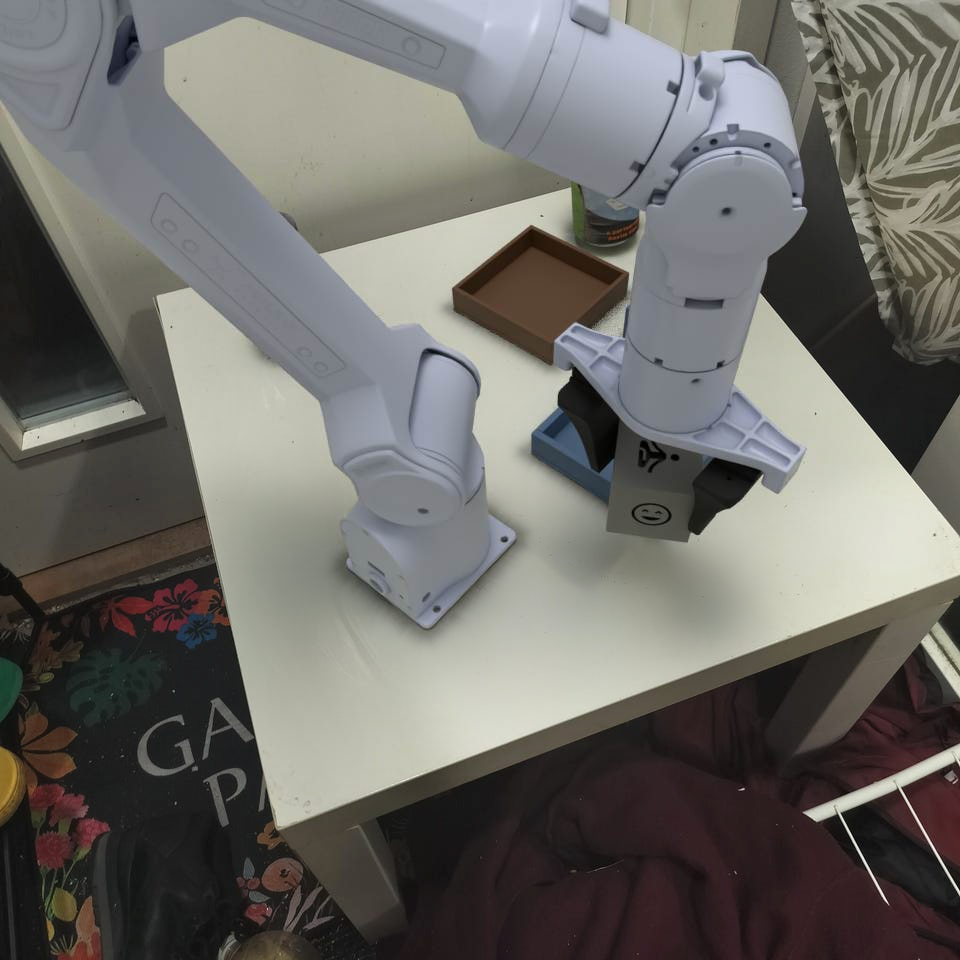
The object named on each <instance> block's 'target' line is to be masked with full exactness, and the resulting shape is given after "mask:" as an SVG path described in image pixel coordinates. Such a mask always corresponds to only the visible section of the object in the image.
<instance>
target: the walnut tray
mask: <svg viewBox="0 0 960 960" xmlns="http://www.w3.org/2000/svg"><path fill="white" fill-rule="evenodd" d="M629 279H630V272H629V271H627V270H625V269H623V268H621V267H619V266H617V265H614V264H613V263H611V262H609V261H606V260H604V259H602V258H600V257H598V256H596V255H594V254H592V253H590V252H589V251H586V250H584V249H582V248H580V247H578V246H576V245H574V244H572V243H570V242H568V241H565V240H563V239H561V238H559V237H557V236H556V235H553V234H551V233H549V232H547V231H545V230H544V229H541V228H539V227H538V226H535V225H533V224H530V225H529V226H527V227H526V228H525V229H524V230H522V231H521V232H520V233H519V234H517V235H516V236H515V237H514V238H512V239H511V240H510V241H509V242H507V243H506V244H504V246H502V247H501V248H500V249H499V250H497V251H496V252H495V253H493V254H492V255H491V256H490V257H488V259H486V260H485V261H483V262H482V263H481V264H480V265H479V266H477V267H476V268H475V269H473V271H471V272H469V273H468V274H467V275H466V276H465V277H463V279H461V280H459V282H457V283H456V284H455V285H454V286H453V287H451V295H452V296H451V297H452V306H453V310H454V311H455V312H457V313H458V314H461V315H462V316H464V317H466V318H467V319H469V320H471V321H473V322H474V323H476V324H478V325H480V326H481V327H483V328H485V329H487V330H488V331H490V332H492V333H493V334H495V335H497V336H499V337H501V338H502V339H504V340H506V341H508V342H510V343H511V344H513V345H514V346H516V347H518V348H520V349H521V350H523V351H525V352H527V353H528V354H530V355H532V356H534V357H536V358H537V359H539V360H541V361H543V362H544V363H546V364H548V365H549V366H552V365H554V364H553V361H554V341H555V340H556V339H557V338H558V337H559V336H560V335H561V334H562V333H563V332H565V331H566V330H567V329H568V328H569V327H570V326H571V325H572V324H574V323H575V322H576V323H578V324H580V325H582V326H584V327H587V328H589V329H592V328H593V327H594V326H595V325H596V324H597V323H598V322H600V320H601V319H603V318H604V317H605V316H606V315H607V314H608V313H610V311H611V310H612V309H613V308H615V307H616V306H617V305H618V304H619V303H620V302H621V301H622V300H623V299H624V298H625V297H626V296H627V295H628V288H629V281H630V280H629Z"/></svg>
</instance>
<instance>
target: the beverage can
mask: <svg viewBox="0 0 960 960" xmlns="http://www.w3.org/2000/svg"><path fill="white" fill-rule="evenodd" d="M570 191H571V192H570V193H571V209H572V210H571V212H572V227H573V228H572V229H573V233H574V235H575V237H577V238H578V239H579V240H581V241H582V242H585V243H586V244H588V245H590V246H592V247H593V246H594V247H598V248H599V247H600V248H606V247H607V248H608V247H614V246H618V245H621V244H622V243H625V242H626V241H628V240H629V239H631V238H632V237H633V236H634V235H635V234H636V233H637V232H638V230H639V228H640V210H639V209H636V208H633V207H630V206H627V205H624V204H622V203H620V202H618V201H616V200H613V199H611V198H609V197H606V196H604V195H602V194H600V193H597V192H595V191H593V190H590V189H588V188H586V187H584V186H581V185H579V184H577V183H575V182H572V181H570Z"/></svg>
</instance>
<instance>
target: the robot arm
mask: <svg viewBox="0 0 960 960" xmlns="http://www.w3.org/2000/svg"><path fill="white" fill-rule="evenodd" d="M238 18H249V19H252V20H256V21H258V22H261V23H264V24H266V25H269V26H271V27H274V28H277V29H280V30H283V31H285V32H287V33H291V34H293V35H296V36H299V37H301V38H304V39H306V40H309V41H311V42H315V43H317V44H319V45H322V46H324V47H325V46H326V47H328V48H330V49H332V50H336V51H339V52H341V53H344V54H347V55H349V56H352V57H355V58H358V59H359V60H362V61H365V62H368V63H371V64H373V65H376V66H379V67H381V68H384V69H387V70H390V71H392V72H395V73H398V74H400V75H402V76H405V77H408V78H411V79H413V80H416V81H419V82H421V83H424V84H427V85H430V86H432V87H434V88H437V89H440V90H443V91H445V92H449V93H451V94H453V95H455V96H456V97H457V99H458V100H459V101H460V103H461V105H462V107H463V109H464V111H465V113H466V115H467V117H468V120H469V122H470V125H471V126H472V128H473V130H474V132H475V134H476V137H477V138H478V139H479V141H480V142H482V143H483V144H485V145H489V146H490V147H493V148H496V149H497V150H499V151H502V152H504V153H506V154H509V155H511V156H513V157H516V158H518V159H520V160H523V161H525V162H527V163H530V164H532V165H533V166H536V167H538V168H541V169H543V170H545V171H548V172H549V173H552V174H555V175H557V176H559V177H561V178H563V179H566V180H568V181H570V182H571V181H572V182H575V183H577V184H579V185H581V186H584V187H586V188H588V189H590V190H593V191H595V192H597V193H600V194H602V195H604V196H606V197H609V198H611V199H613V200H616V201H618V202H620V203H622V204H624V205H627V206H630V207H633V208H636V209H639V211H642V212H644V213H645V223H644V228H643V229H644V230H643V234H642V236H641V237H640V239H639V243H638V246H637V249H636V253H635V262H634V269H633V276H632V284H631V290H630V292H631V293H630V299H629V304H630V306H629V314H628V321H627V328H626V336H625V338H622V337H623V336H622V337H621V336H617V335H612V334H608V333H604V332H601V331H597V330H594V329H592V328H590V329H589V328H587V327H584V326H582V325H580V324H578V323H576V322H575V323H574V324H572V325H571V326H570V327H569V328H568V329H567V330H566V331H565V332H563V333H562V334H561V335H560V336H559V337H558V338H557V339H556V340H555V341H554V361H553V364H552V365H554V366H556V367H557V368H559V369H561V370H562V371H564V372H569V371H571V375H570V376H569V378H568V381H567V382H566V383H565V384H564V385H563V386H562V387H561V388H560V389H559V391H558V393H557V399H556V401H557V402H556V404H557V408H558V407H559V408H560V409H561V410H562V411H563V412H564V413H565V414H566V415H567V416H568V418H569V419H570V420H571V422H572V423H573V425H574V426H575V428H576V430H577V432H578V434H579V436H580V438H581V440H582V443H583V446H584V448H585V451H586V454H587V458H588V461H589V464H590V467H591V469H592V470H594V471H595V472H597V473H598V474H599V473H600V472H601V471H602V470H603V469H604V468H605V467H606V466H607V465H608V464H609V463H610V462H611V461H612V460H613V459H614V457H615V450H616V443H617V435H618V428H619V421H620V418H621V420H622V421H623V422H624V423H625V424H626V425H627V426H628V427H629V428H630V429H631V430H633V431H634V432H635V433H637V434H639V435H640V436H642V437H644V438H647V439H649V440H652V441H655V442H658V443H662V444H666V445H670V446H673V447H677V448H681V449H685V450H689V451H693V452H696V453H700V454H704V455H708V456H712V457H715V458H714V459H712V460H711V461H710V463H709V464H708V465H707V466H706V467H705V468H704V469H703V470H702V472H701V473H700V474H699V475H698V476H697V477H696V478H695V479H694V481H693V484H692V486H693V489H694V493H695V503H694V509H693V512H692V515H691V517H690V520H689V523H688V530H689V531H690V532H691V534H693V535H695V536H700V535H701V534H702V533H703V532H704V530H705V529H706V528H707V526H708V525H710V523H711V522H713V520H714V519H715V517H716V515H717V514H718V513H719V514H720V513H721V512H722V511H726V510H730V509H732V508H733V507H735V506H736V505H737V504H738V503H740V502H741V501H742V500H743V499H744V498H745V497H746V496H747V494H748V493H749V492H750V490H752V488H753V487H754V486H755V484H756V483H757V482H758V481H759V480H760V478H761V477H762V479H761V481H760V484H761V486H763V487H764V488H766V489H768V490H769V491H771V492H773V493H774V494H776V495H779V494H780V493H781V492H782V491H783V490H784V488H785V487H787V485H788V484H789V482H790V481H791V480H792V478H793V477H794V476H795V474H796V473H797V472H798V471H799V469H800V465H801V463H802V461H803V459H804V456H805V454H806V452H807V449H808V448H807V447H805V446H803V445H802V444H801V443H799V442H797V441H795V440H794V439H792V438H791V437H790V436H788V435H786V434H785V433H784V432H783V431H782V430H781V429H779V428H778V427H777V425H775V424H774V423H773V422H772V420H770V419H769V418H768V416H766V415H765V414H764V413H763V411H761V410H760V409H759V407H757V406H756V405H755V404H754V403H753V402H752V401H751V400H750V399H749V398H748V396H746V395H745V393H743V392H742V391H741V390H740V389H739V388H738V387H737V386H736V385H735V384H734V383H735V380H736V376H737V374H738V369H739V365H740V362H741V359H742V356H743V352H744V348H745V345H746V343H747V340H748V335H749V332H750V330H751V329H750V328H751V326H752V323H753V318H754V314H755V311H756V308H757V305H758V301H759V298H760V294H761V290H762V287H763V285H764V281H765V277H766V274H767V270H768V259H769V257H770V256H772V255H773V254H774V253H776V252H778V251H779V250H781V249H782V248H783V247H784V246H785V245H786V244H787V243H788V242H789V241H790V240H792V238H793V237H794V236H795V235H796V234H797V232H798V231H799V229H800V227H801V226H802V224H803V223H804V220H805V219H806V217H807V214H808V209H807V208H806V207H804V206H803V201H802V200H803V196H804V193H805V177H804V171H803V166H802V162H801V157H800V152H799V149H798V145H797V144H798V143H797V139H796V134H795V129H794V125H793V120H792V116H791V111H790V106H789V102H788V99H787V96H786V94H785V92H784V90H783V87H782V85H781V83H780V81H779V80H778V78H777V77H776V75H775V74H774V73H773V72H772V71H771V70H770V69H768V68H767V67H766V66H765V65H763V64H761V63H760V62H759V61H758V60H757V58H756V57H755V56H754V55H753V54H752V53H751V52H749V51H744V50H737V49H721V50H715V51H710V52H708V51H706V50H701V51H699V52H698V53H697V55H694V56H690V55H689V54H686V53H684V52H683V51H680V50H678V49H677V48H674V47H672V46H671V45H668V44H667V43H665V42H663V41H661V40H658V39H656V38H655V37H653V36H650V35H649V34H646V33H644V32H642V31H641V30H638V28H637V29H636V28H635V27H633V26H631V25H629V24H626V23H625V22H623V21H621V20H619V19H616V18H615V17H613V16H611V0H0V102H1V103H2V105H3V106H4V108H5V109H6V111H7V112H8V114H9V115H10V117H11V118H12V120H13V122H14V123H15V125H16V126H17V127H18V129H19V131H20V132H21V133H22V135H23V136H24V137H25V139H26V140H27V141H28V143H29V144H30V145H31V146H32V147H33V148H34V149H35V150H36V151H37V152H38V153H39V154H40V155H41V156H42V157H43V158H44V159H45V160H47V161H48V162H49V163H50V164H51V165H52V166H53V167H54V168H55V169H56V170H57V171H58V172H60V173H61V174H62V175H63V176H64V177H66V178H67V179H68V180H69V181H70V182H71V183H72V184H74V186H75V187H77V188H78V189H79V190H80V191H81V192H83V194H85V195H86V196H87V197H88V198H89V199H90V200H92V202H93V203H95V204H96V205H97V206H98V207H99V208H100V209H102V210H103V211H104V212H105V213H106V214H107V215H108V216H110V217H111V218H112V219H113V220H114V221H115V222H116V224H118V225H120V226H121V227H122V228H123V229H124V230H125V231H127V233H128V234H130V235H131V236H132V237H133V238H134V239H136V241H138V242H139V244H141V245H142V246H143V247H144V248H145V249H146V250H148V252H150V253H151V254H152V255H153V256H154V257H155V258H157V259H158V260H159V261H160V262H161V263H162V264H163V265H165V266H166V267H167V268H168V269H169V270H170V271H171V272H172V273H173V274H175V275H176V276H177V277H178V278H179V279H180V280H181V281H183V282H184V283H185V284H186V285H187V286H188V287H189V288H191V289H192V290H193V291H194V292H195V293H196V294H197V295H199V297H200V298H202V299H203V300H204V301H205V302H206V303H207V304H209V306H210V307H212V308H213V309H214V310H215V311H216V312H218V313H219V314H220V315H221V316H222V317H223V318H224V319H225V320H227V321H228V322H229V323H230V324H231V325H232V326H233V327H235V328H236V330H238V331H239V332H240V334H242V335H243V336H245V337H246V338H247V340H249V341H250V342H251V343H252V344H253V345H255V346H256V347H257V348H258V349H259V350H260V351H261V352H263V353H264V354H265V355H266V356H267V357H268V358H269V359H270V360H272V361H273V362H274V363H275V364H276V365H277V366H279V368H281V369H282V370H283V371H284V373H286V374H287V375H289V377H291V378H292V379H293V380H294V381H295V382H296V383H297V384H299V385H300V386H301V387H302V388H303V389H304V390H306V391H307V392H308V393H309V394H310V395H311V396H312V397H313V398H314V399H315V400H317V401H318V403H319V406H320V410H321V414H322V415H321V416H322V419H323V424H324V429H325V435H326V439H327V445H328V449H329V454H330V458H331V462H332V465H333V466H334V467H335V468H336V469H338V470H339V471H340V472H341V473H342V474H344V475H345V476H346V477H347V478H348V480H350V483H352V486H353V488H354V491H355V494H356V496H357V497H358V499H357V500H356V501H355V503H354V505H352V507H351V508H349V510H348V511H347V512H346V513H345V514H344V515H343V516H342V518H341V519H340V521H339V530H340V533H341V536H342V539H343V542H344V545H345V547H346V550H347V553H348V556H349V557H348V558H347V559H346V566H347V568H348V569H349V570H350V571H351V572H352V573H354V574H355V575H356V576H358V577H359V578H360V579H361V580H362V581H364V583H366V584H368V585H369V586H370V587H371V588H372V589H374V590H375V591H377V592H378V593H379V594H380V595H381V596H382V597H384V598H385V599H387V600H388V602H390V603H391V604H393V606H395V607H396V608H398V609H399V610H400V611H401V612H403V613H404V615H406V616H408V617H409V618H410V619H411V620H413V622H415V623H416V624H418V625H419V626H420V627H421V628H423V629H426V630H427V629H431V628H432V627H433V626H435V624H436V623H437V622H438V621H439V620H440V619H441V618H443V616H444V615H445V614H446V613H447V612H448V611H449V610H450V609H451V608H452V607H453V606H454V605H455V604H456V603H457V602H458V601H459V600H460V598H462V596H463V595H464V594H466V592H467V591H468V590H470V588H471V587H472V586H473V585H474V584H475V583H476V582H477V581H478V580H479V579H480V578H481V577H482V576H483V575H484V574H485V572H487V571H488V570H489V568H491V566H492V565H493V564H494V563H495V562H496V561H498V559H499V558H500V557H501V556H502V555H503V554H504V553H505V552H506V551H507V550H508V549H509V548H510V547H511V546H512V544H513V543H515V542H516V540H517V533H516V531H515V530H514V529H512V528H511V527H510V526H508V525H506V524H505V523H504V522H502V521H501V520H499V519H498V518H496V517H495V516H493V515H492V514H491V513H489V505H488V494H487V493H488V492H487V480H486V467H485V465H486V464H485V457H484V452H483V450H482V447H481V445H480V443H479V441H478V440H477V438H476V436H475V434H474V432H473V430H474V423H475V415H476V408H477V401H478V399H479V398H480V395H481V391H482V390H481V389H482V380H481V379H482V378H481V375H480V372H479V369H478V368H477V366H476V365H475V364H474V363H473V362H472V361H471V359H469V358H468V357H467V356H466V355H464V354H462V353H461V352H460V351H458V350H456V349H454V348H451V347H449V346H447V345H445V344H442V343H441V342H439V341H438V340H436V339H435V338H434V337H432V335H430V334H429V332H427V331H426V330H425V329H424V327H423V326H422V325H421V324H420V323H417V322H410V323H401V324H397V325H392V326H388V325H387V324H385V322H384V321H383V320H382V319H381V318H380V316H378V315H377V314H376V313H375V312H374V311H373V310H372V309H371V308H370V306H369V305H368V304H367V303H366V302H365V301H364V300H363V299H362V298H361V297H360V296H359V294H357V293H356V292H355V290H354V289H352V288H351V287H350V285H349V284H348V283H347V282H346V281H345V280H344V279H343V278H342V277H341V276H340V275H339V274H338V273H337V272H336V270H335V269H333V268H332V266H331V265H330V264H329V263H328V262H327V261H326V260H325V259H324V258H323V257H322V255H320V254H319V253H318V251H317V250H315V248H314V247H313V246H312V245H311V244H310V243H309V242H308V241H307V240H306V239H305V238H304V237H303V236H302V234H300V232H299V231H298V232H299V233H298V232H297V231H296V229H295V228H294V227H293V226H292V225H291V224H290V223H289V222H288V221H287V220H286V219H285V218H284V217H283V216H282V215H281V214H280V213H279V212H280V211H279V210H278V209H277V208H276V207H275V206H274V205H273V204H272V203H271V202H270V201H269V199H267V197H266V196H265V195H264V194H263V193H262V192H261V191H260V190H259V189H258V188H257V187H256V186H255V185H254V184H253V182H252V181H250V179H248V177H247V176H246V175H245V174H244V173H243V172H242V170H240V169H239V167H237V166H236V165H235V164H234V163H233V162H232V161H231V159H229V157H228V156H227V155H226V154H225V153H224V152H223V151H222V150H221V149H220V148H219V147H218V146H217V145H216V144H215V143H214V141H212V139H210V137H209V136H208V135H207V134H206V133H205V132H204V131H203V129H201V127H199V125H197V123H196V122H195V121H194V120H193V119H192V118H191V117H190V116H189V115H188V114H187V113H186V112H185V111H184V110H183V109H182V107H181V106H180V105H179V104H177V103H176V101H175V100H174V99H173V98H172V97H171V96H170V95H169V93H168V92H167V90H166V85H165V48H168V47H171V46H173V45H176V44H178V43H180V42H182V41H183V42H184V40H186V39H190V38H191V37H194V36H197V35H199V34H202V33H205V32H206V31H208V30H211V29H213V28H216V27H218V26H220V25H223V24H226V23H228V22H230V21H232V20H234V19H238ZM503 540H506V542H504V541H503ZM436 609H439V611H437V612H436V611H435V610H436Z"/></svg>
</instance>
